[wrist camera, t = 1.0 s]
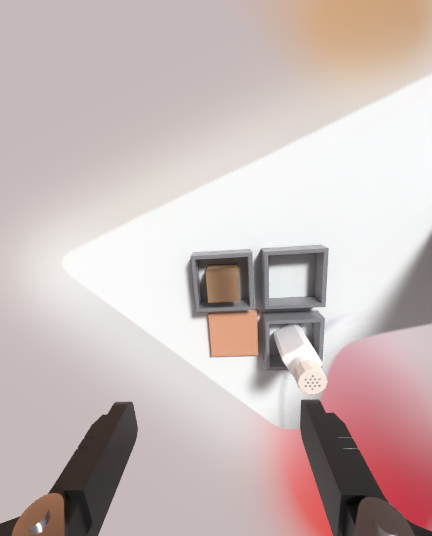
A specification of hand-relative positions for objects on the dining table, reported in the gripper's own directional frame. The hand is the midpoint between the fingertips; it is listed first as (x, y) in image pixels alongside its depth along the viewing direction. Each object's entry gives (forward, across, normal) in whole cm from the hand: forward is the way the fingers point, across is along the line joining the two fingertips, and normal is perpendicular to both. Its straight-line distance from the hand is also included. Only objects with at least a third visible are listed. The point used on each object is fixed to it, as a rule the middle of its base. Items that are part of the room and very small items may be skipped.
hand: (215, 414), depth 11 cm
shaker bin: (+22, -9, +10) cm, 26 cm away
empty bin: (+22, -9, 0) cm, 24 cm away
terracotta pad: (+22, -1, +9) cm, 24 cm away
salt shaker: (+22, -9, +10) cm, 26 cm away
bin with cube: (+22, 0, 0) cm, 22 cm away
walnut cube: (+22, 0, 0) cm, 22 cm away
